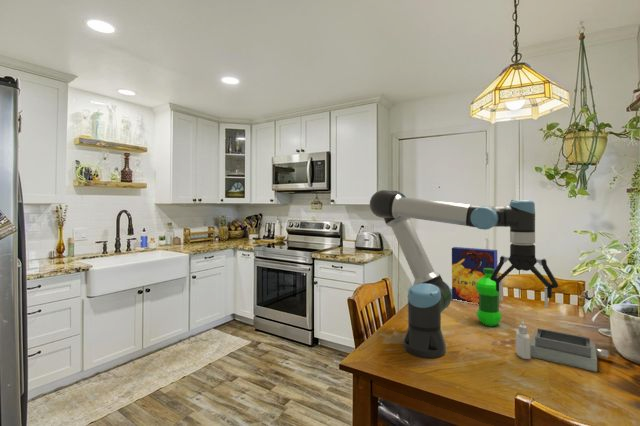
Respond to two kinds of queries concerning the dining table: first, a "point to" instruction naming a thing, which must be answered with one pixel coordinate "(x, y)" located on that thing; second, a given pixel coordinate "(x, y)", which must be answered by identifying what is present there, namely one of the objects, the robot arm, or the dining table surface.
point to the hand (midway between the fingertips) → (522, 303)
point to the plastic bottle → (488, 299)
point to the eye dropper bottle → (523, 342)
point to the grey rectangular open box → (566, 349)
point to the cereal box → (470, 271)
